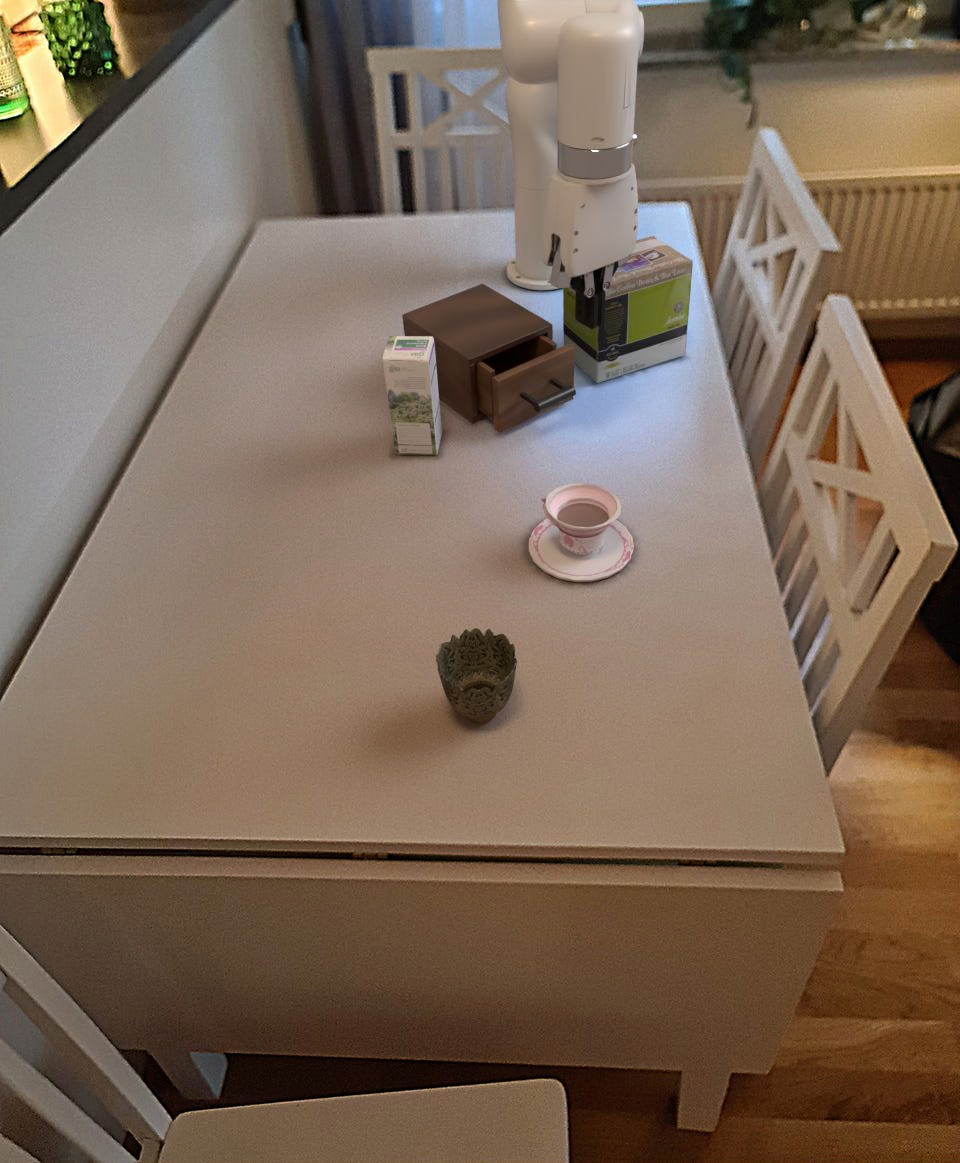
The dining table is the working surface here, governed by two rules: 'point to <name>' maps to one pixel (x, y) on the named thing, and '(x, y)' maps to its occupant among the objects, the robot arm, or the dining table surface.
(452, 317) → the cabinet
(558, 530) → the teacup
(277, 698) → the dining table surface
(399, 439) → the syrup box
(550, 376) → the drawer
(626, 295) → the tea box
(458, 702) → the cup
